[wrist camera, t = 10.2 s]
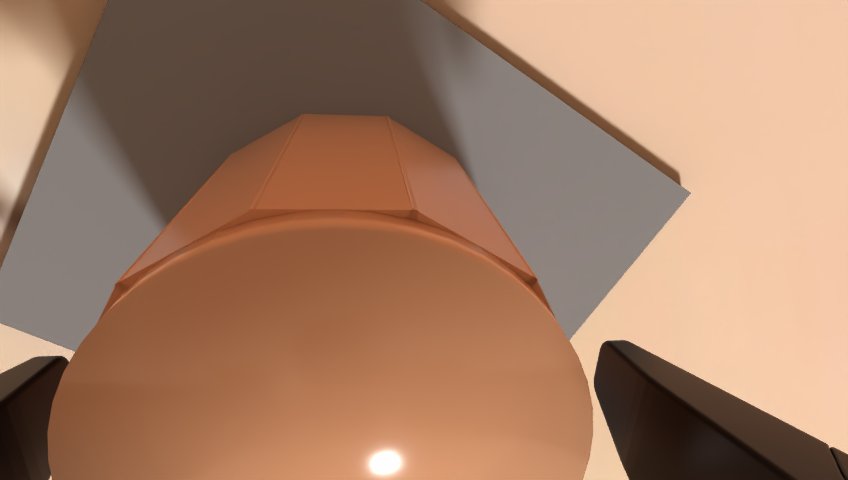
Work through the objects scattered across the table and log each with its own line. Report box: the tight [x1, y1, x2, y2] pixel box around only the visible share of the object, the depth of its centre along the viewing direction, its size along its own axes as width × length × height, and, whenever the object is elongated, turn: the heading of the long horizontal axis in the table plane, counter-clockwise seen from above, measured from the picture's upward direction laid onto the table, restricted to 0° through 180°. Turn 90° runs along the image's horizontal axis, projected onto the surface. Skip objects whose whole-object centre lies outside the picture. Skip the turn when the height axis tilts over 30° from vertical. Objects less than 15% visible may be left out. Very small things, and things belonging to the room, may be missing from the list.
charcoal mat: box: [0, 0, 691, 352], centre depth 14 cm, size 14×12×1 cm
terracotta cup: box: [48, 113, 593, 480], centre depth 10 cm, size 7×7×7 cm
